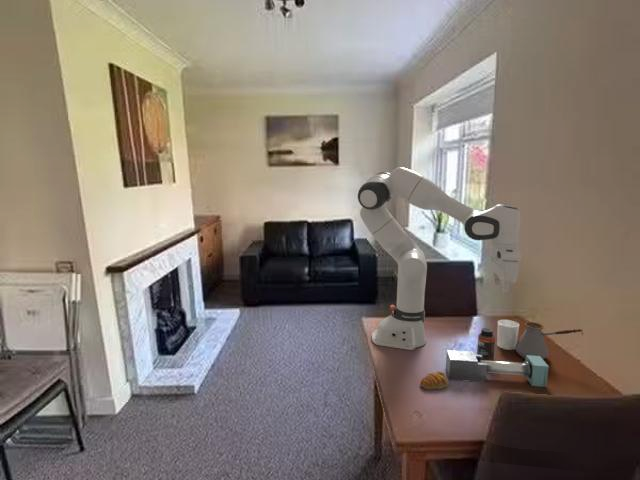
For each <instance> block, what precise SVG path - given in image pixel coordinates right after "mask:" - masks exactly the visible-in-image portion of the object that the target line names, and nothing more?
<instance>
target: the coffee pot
mask: <svg viewBox="0 0 640 480" xmlns="http://www.w3.org/2000/svg"><path fill="white" fill-rule="evenodd" d="M524 326H525V330H524V331H523V333H522V335H521V336H520V337H519V339H517V342H516V345H515V349H514V350H515V351H516V353H517V354H518V355H519V356H520V357H521V358H523V359H525V360H526V355H531V356H540V357H541V358H542V359H543V360H544V359H546V358H547V357H548V355H549V350H548V347H547V344H546V340H545V338H544V336H552V335H565V334H571V333H574V334H575V333H577V332H578V333H581V335H582V336H584V332H583V330H582V329H579V328H578V329H572V330H571V329H565V330H559V331H554V332H552V331H551V332H542V331H543V329H544V328H545V327H544V325H543V324H541V323H539V322H532V321H527V322H525V323H524Z"/></svg>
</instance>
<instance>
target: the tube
mask: <svg viewBox="0 0 640 480" xmlns="http://www.w3.org/2000/svg"><path fill="white" fill-rule="evenodd" d="M479 363H486V364H487V373H486V374H488V373H490V374H491V373H492V374H500V375H501V374H504V375H516V376H524V377H525V378H526V377H531V375H532V365H531V364H530V362H528V361H526V360H524V361H523V362H517V361H516V362H515V361H499V360H483V359H482V360H479Z"/></svg>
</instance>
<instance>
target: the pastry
mask: <svg viewBox="0 0 640 480" xmlns="http://www.w3.org/2000/svg"><path fill="white" fill-rule="evenodd" d="M447 377H448V376H447V374H445V373H444V372H442V371H439V370H438V371H436V372H430V373H428V374H427V375H425V376H424V377H423V378H421V379H420V384H419V385H420V387H422V389H425V390H428V389H430V390H439V389H438V388H440V389H442V388H441V387H444V388H446V387H445V386H447V387H448V386H449V384H450V382H449V378H447Z"/></svg>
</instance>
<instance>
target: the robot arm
mask: <svg viewBox="0 0 640 480" xmlns="http://www.w3.org/2000/svg"><path fill="white" fill-rule="evenodd" d="M392 197H398V198H399V199H402V200H404V201H405V202H407V203H408V204H410V205H412V206H414V207H417V208H419V209H422V210H425V211H430V210H431V211H439V212H441V213H444V214H446V215H447V216H449V217H451V218H453V219H454V220H456V221H458V222H459V223H461V224H462V225H463V227H464V232H465V235H466V236H468V238H470V239H471V240H474V241H485V240H490V247H489V248H490V249H489V255H490V256H489V261H488V262H489V263H488V266H489V269H490V270H491V271H492V274H493V275H492V276H493V284H495V285H496V286H497V285H498V286H499V285H500V284H501V280H502V286H501V293H504V294H505V293H506V294H508V292H509V288H510V285H511V284H515V283H516V282H517V280H518V277H519V269H520V262H521V260H522V254H521V252H520V249H519V233H520V231H521V212H520V210H519V209H518V208H517V207H516V206H513V205H511V204H507V203H506V204H504V203H498V204H496V205H495V206H492V207H491V208H488V209H486V210H484V209H479V208H473V207H469V206H467V205H466V204H463V203H462V202H460V201H459V200H457V199H455V198H453V197H451V196H449V195H448V194H447V193H446V192H445V191H444V190H442V189H441V188H440V187H439V186H438V185H437V183H434V182H433V181H432V180H431V179H429V178H427V177H425V176H424V175H423V174H420V173H418V172H416V171H414V170H412V169H410V168H409V169H408V168H405V167H403V166H398V167H395V168H394V169H393V170H392V171H391V172H386V171H383V172H378V173H376V174H375V175H373V176H371V177H370V178H369V179H368V180H366V182H365V183H364V184H362V185H361V187H360V188H359V190H358V192H357V199H358V203H359V205H360V206H361V209H360V211H359V215H360V218H361V219H362V222H363V223H364V226H365V227H366V228H367V229H368V231H369V233H370V234H371V236H372V237H374V239H375V240H376V241H377V242H378V244H379V245H380V246H381V248H382V249H383V250H385V252H387V253H388V254H389V255H390V256H391V257H392V258H393V260H394V261H395V262H396V263H397V284H396V285H397V287H396V288H397V289H396V306H395V305H394V304H391V305H389V309H390V312H391V314H390V315H388V316H386V317H385V318H383V319H381V320H380V321H379V324H378V325H377V329H375V330H374V331H372V334H371V341H372V342H373V343H374V345H376V346H381V347H388V348H393V349H394V348H395V349H401V350H408V351H412V350H415V349H416V348H420V347H423V346H424V345H426V343H427V340H426V336H425V326H424V323H425V318H426V317H425V316H426V310H425V293H426V283H427V273H428V263H427V260H426V256H425V253H424V251H422V249H421V248H420V247H419V246H418V244H417V243H416V242H415V241H414V240H413V238H411V236H410V235H408V233H406V231H405V230H404V228H403V227H402V226H401V225H400V224H399V223H398V221H397V219H395V218H394V216H393V215H392V214H391V212H390V211H389V210H388V208H387V203H388V202H389V201H390V200H391V199H392Z"/></svg>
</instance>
